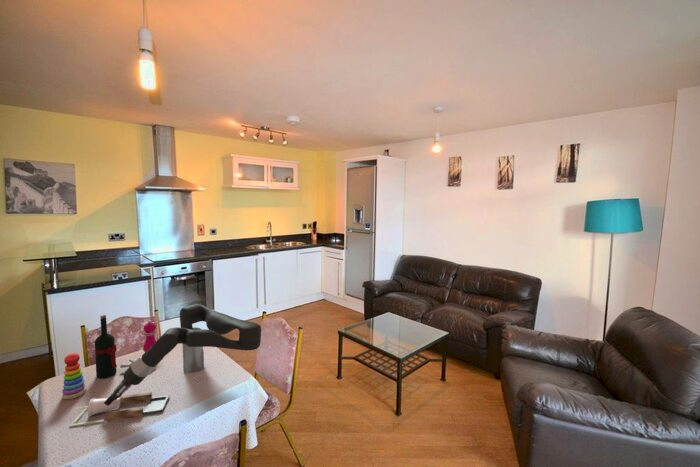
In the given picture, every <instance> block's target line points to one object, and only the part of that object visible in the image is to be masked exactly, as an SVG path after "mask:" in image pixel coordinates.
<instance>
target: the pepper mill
mask: <svg viewBox="0 0 700 467" xmlns="http://www.w3.org/2000/svg"><path fill="white" fill-rule="evenodd" d="M156 329H157V324H156V323H155V322H152V320H151V319H149V320H147V323H145V324H144V325H143V331H144V336H145V341H144V344H143V346H142V350H143V352H144V353H145V352H146V351H147V350H148V349H149V348H150V347H152V346H153V345H154V344H155V342H156V341H157V340H156V338H155V337H156V336H155V335H156Z"/></svg>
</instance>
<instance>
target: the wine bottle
mask: <svg viewBox="0 0 700 467" xmlns="http://www.w3.org/2000/svg"><path fill="white" fill-rule="evenodd" d="M99 318H100V335H99V336H97V337H96V339H95V341H94V355H95V356H94V357H95V372H96V373H95V374H96V377H95V378H96V379H98V380H99V379H100V380H102V379H108V378H111V377H113V376H115V375H117V367H118V366H117V358H116V352H117V345H116V342H115V337H114V335H112V334H111V333H108V327H107V326H108V324H107V314H103V315H100V316H99Z"/></svg>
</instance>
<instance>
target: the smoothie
mask: <svg viewBox="0 0 700 467" xmlns="http://www.w3.org/2000/svg"><path fill="white" fill-rule="evenodd" d="M108 398H109V397H107V398H106V397H105V398H95V397H93V398H91V399H90V400H89V402H88V405H86V406H81V407H76V408H75V410H76V411H77V410H81V409H82V410H84V408H88V409H87V416H88V417H92V416H93V415H97V414H100V413H104V412H109V411H112V410H116V409H119V408H121V405H120V402H121V398H118V399H117V400H114V401H113V402H112V403H111V404H110V405H109V406H107V405H106V404H104V402H105V401H106V400H107V399H108Z"/></svg>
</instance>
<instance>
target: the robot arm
mask: <svg viewBox="0 0 700 467" xmlns="http://www.w3.org/2000/svg"><path fill="white" fill-rule="evenodd" d="M199 322H205V325H206V327H207V329H202V328H200V327H193V324H197V323H199ZM179 323H180V325H179V326H180V327H171V328H168V329H167V330H165V332H164V333H163V334H162V335H161V336H160V337H158V339H157V340H156V342H155V344H154V345H153V346H152V347H150V348H149V349H148V350H147V351H146V352H144V353H143V354H142V355H141V356H140V357H138V358H136V359H137V360H136V359H135V360H136V361H135V362H134V363H133V364H132V365H131V366H130V367H127V369H126V370H125V371H124V372H123V376H122V377H123V379H122V380H121V381H120V383H119V384H118V385H117V386H116V388H115V389H114V390H113V392H112V393H111V394H110V395H109V397H107V398H108V399H107V400H106V401H105V402H104V404H106V405H107V406H109V405H110V404H111V403H112V402H113V401H114V400H117V399H118V398H119V397H120V396H123V394H124V393H125V392H127V391H128V390H130V388H131V386H138V385H140V383H141V382H143V381H144V380H145V379H146V378H147V376H148V375H150V373H151V372H153V371H154V369H155V368H156V367H157V365H158V364H159V363H160V362H161V361H163V359H164V358H165V357H166V356H167V355H168V354H169V353H170V352H172V350H174V349H175V347H177V346H178V345H179V344H180V345H181V344H182V363H183V365H182V366H183V367H182V369H183V370H182V371H183V372H184V373H187V374H188V373H189V374H192V373H196V372H199V371H201V370H203V369H205V356H204V355H205V354H204V349H203V348H206V347H207V348H208V347H210V348H222V349H226V350H228V349H229V350H236V351H237V350H238V351H254V350H257V349H259V347H260V346H261V342H262V341H261V338H262V326H261V325H260V324H259V323H256V322H254V321H250V320H249V321H248V320H245V319H244V320H243V319H240V318H236V317H233V316H232V315H231V316H230V315H228V314H225V313H222V312H218V311H216V310H213V309H211V308H209V307H207V306H205V305H203V304H200V303H195V304H191V305H187V306H184V307H182V308H181V309H180V310H179ZM235 330H238V331H239V332H238V334H239V335H238V340H234V339H231V338H228V337H225V336H224V335H226V334H229V333H231V332H232V331H235ZM155 366H156V367H155Z"/></svg>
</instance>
